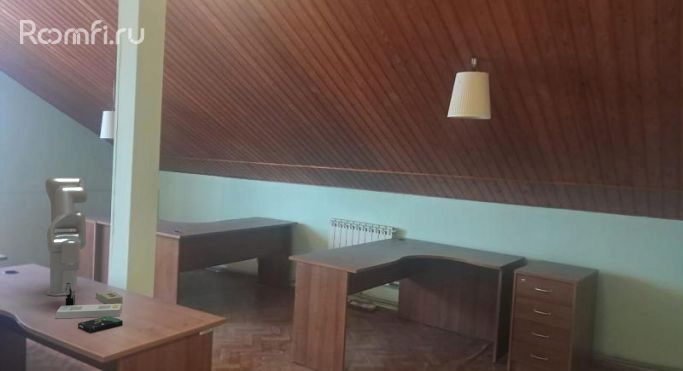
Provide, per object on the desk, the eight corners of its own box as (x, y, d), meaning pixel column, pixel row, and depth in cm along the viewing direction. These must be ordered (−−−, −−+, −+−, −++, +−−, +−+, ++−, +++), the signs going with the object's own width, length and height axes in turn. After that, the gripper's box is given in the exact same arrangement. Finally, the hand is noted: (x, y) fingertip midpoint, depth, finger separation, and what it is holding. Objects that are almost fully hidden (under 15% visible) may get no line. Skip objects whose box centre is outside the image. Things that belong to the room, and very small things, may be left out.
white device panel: (61, 312, 262) (61, 305, 262) (121, 309, 269) (121, 303, 269) (56, 318, 252) (56, 311, 252) (119, 316, 259) (119, 309, 259)
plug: (66, 308, 269) (66, 291, 268) (75, 307, 270) (75, 291, 269) (65, 310, 265) (65, 293, 265) (73, 310, 266) (74, 293, 265)
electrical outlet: (110, 288, 292) (122, 296, 279) (110, 296, 293) (122, 304, 279) (96, 290, 288) (107, 298, 274) (95, 298, 288) (107, 306, 274)
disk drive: (90, 335, 235) (123, 326, 247) (90, 328, 235) (123, 320, 247) (77, 329, 241) (109, 321, 253) (77, 323, 241) (109, 315, 253)
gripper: (65, 263, 273) (65, 301, 274) (57, 270, 257) (57, 310, 258) (82, 262, 275) (82, 300, 276) (75, 269, 259) (75, 309, 260)
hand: (70, 304), depth 267 cm, fingers closed on plug, 3 cm apart
